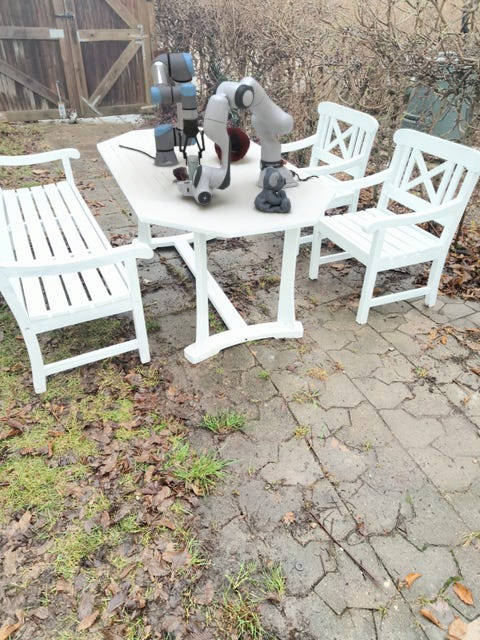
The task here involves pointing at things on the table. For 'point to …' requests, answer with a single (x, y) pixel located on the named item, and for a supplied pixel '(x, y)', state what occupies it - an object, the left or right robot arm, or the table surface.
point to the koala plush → (273, 193)
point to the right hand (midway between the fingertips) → (193, 180)
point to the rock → (181, 174)
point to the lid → (192, 158)
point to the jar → (192, 168)
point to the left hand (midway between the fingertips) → (193, 164)
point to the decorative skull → (235, 144)
